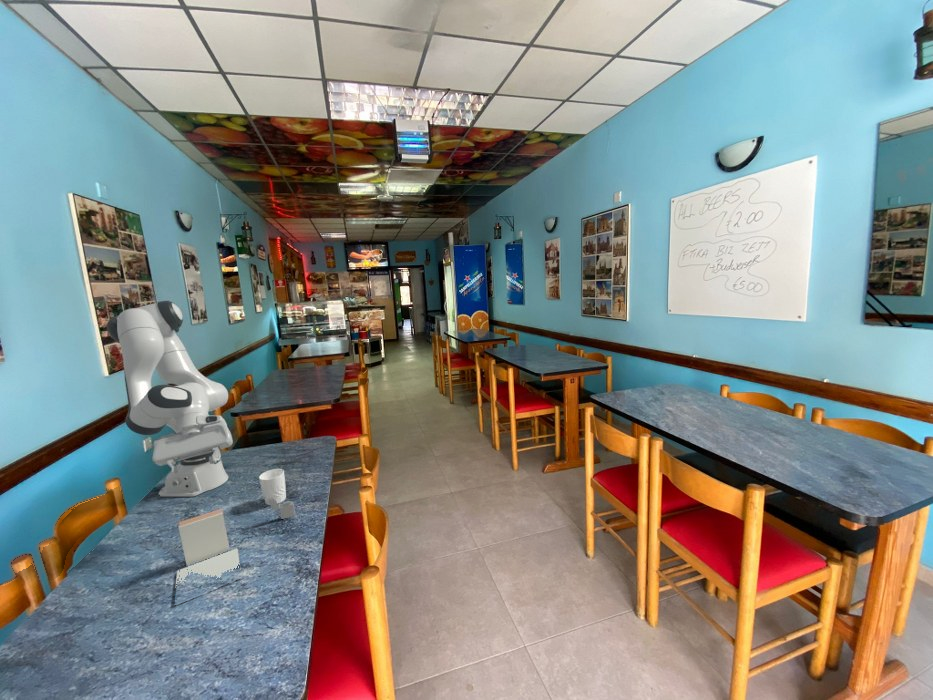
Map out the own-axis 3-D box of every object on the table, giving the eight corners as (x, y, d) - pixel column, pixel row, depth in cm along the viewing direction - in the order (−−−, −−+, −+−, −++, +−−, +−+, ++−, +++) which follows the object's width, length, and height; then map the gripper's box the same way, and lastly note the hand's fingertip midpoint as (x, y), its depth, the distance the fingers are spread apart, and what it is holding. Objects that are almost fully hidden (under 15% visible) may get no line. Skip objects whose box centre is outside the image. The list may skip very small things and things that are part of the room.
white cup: (292, 494, 139) (288, 468, 137) (279, 506, 131) (275, 479, 129) (272, 494, 140) (267, 468, 138) (258, 506, 132) (253, 479, 130)
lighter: (295, 513, 126) (291, 491, 125) (295, 516, 125) (291, 493, 123) (271, 520, 123) (267, 497, 122) (271, 523, 122) (267, 500, 120)
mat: (177, 572, 102) (177, 570, 102) (237, 549, 110) (237, 548, 110) (174, 607, 91) (173, 604, 91) (241, 579, 98) (241, 577, 98)
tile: (187, 560, 107) (179, 522, 104) (229, 545, 112) (222, 508, 110) (186, 567, 104) (178, 527, 102) (229, 551, 110) (222, 513, 108)
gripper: (149, 433, 115) (147, 475, 107) (226, 414, 122) (229, 452, 115) (158, 442, 119) (157, 484, 112) (232, 423, 127) (235, 461, 120)
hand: (194, 467), depth 113 cm, fingers open, 8 cm apart
